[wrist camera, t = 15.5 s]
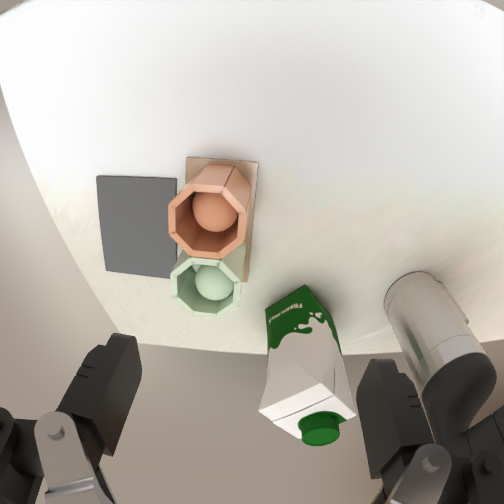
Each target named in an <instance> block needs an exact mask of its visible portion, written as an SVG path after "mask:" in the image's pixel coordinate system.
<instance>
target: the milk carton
mask: <svg viewBox="0 0 504 504" xmlns="http://www.w3.org/2000/svg"><path fill="white" fill-rule="evenodd" d="M265 313H266V324H267V336H268V353H267V356H268V357H267V384H266V387H265V390H264V393H263V397H262V400H261V403H260V406H259V410H258V411H259V412H260V413H262V414H263V415H265V416H266V417H268V418H269V419H271V420H272V422H273V423H274V424H275V425H277V426H279V427H281V428H283V429H284V430H286V431H287V432H289V433H290V434H292V435H294V436H295V437H297V438H299V439H300V438H302V441H303V442H304V443H305V444H307V445H310V446H323V445H327V444H330V443H332V442H334V441H336V440H337V439H338V438H339V435H340V432H339V424H340V423H342V422H344V421H347V419H349V418H352V417H354V416H356V412H355V408H354V404H353V400H352V396H351V393H350V389H349V385H348V381H347V376H346V371H345V367H344V362H343V358H342V353H341V349H340V344H339V340H338V336H337V332H336V328H335V325H334V322H333V319H332V316H331V315H330V314H329V313H328V312H327V310H326V309H325V308H324V307H323V306H322V304H321V303H320V302H319V301H318V300H317V298H316V297H315V296H314V295H313V294H312V293H311V291H310V290H309V289H308V288H307V287H306V285H304V286H303V287H301V288H299V289H298V290H296V291H295V292H293V293H291V294H290V295H288V296H287V297H285V298H283V299H282V300H280V301H279V302H277V303H275V304H274V305H272V306H271V307H269V308H267V309H266V310H265Z"/></svg>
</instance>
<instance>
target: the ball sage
mask: <svg viewBox="0 0 504 504" xmlns="http://www.w3.org/2000/svg"><path fill="white" fill-rule="evenodd" d="M195 283H196V287H197V289H198V291H199V293H200V294H201V295H202V296H203V297H205V298H207V299H209V300H222V299H224V298H226V297H228V296H229V295H230V294H231V293H232V291H233V289H234V282H233V281H232V280H231V279H230V278H229V277H228V276H227V275H226V274H225V273H224V272H223V271H222V270H221V269H220V268H219V267H218V266H211V265H202V266H201V267H200V268H199V269H198V271H197V273H196V277H195Z"/></svg>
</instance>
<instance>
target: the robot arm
mask: <svg viewBox="0 0 504 504" xmlns="http://www.w3.org/2000/svg"><path fill="white" fill-rule="evenodd" d="M384 308H385V312H386V314H387V316H388V318H389V321H390V323H391V325H392V327H393V330H394V332H395V335H396V337H397V339H398V341H399V344H400V346H401V349H402V351H403V353H404V356H405V358H406V360H407V363H408V365H409V368H410V370H411V373H412V375H413V378H414V380H415V383H416V385H417V388H418V391H419V393H420V396H421V398H422V401H423V404H424V407H425V410H426V412H427V417H428V420H429V423H430V426H431V429H432V432H433V435H434V439H435V442H434V440H433V437H432V434H431V431H430V428H429V425H428V422H427V419H426V416H425V413H424V411H423V408H422V407H421V402H420V399H419V398H418V394H417V391H416V389H415V386H414V383H413V382H412V381H411V380H410V379H409V378H408V377H407V375H406V374H405V373H399V372H398V369H397V367H396V364H395V361H394V360H393V359H371V360H370V362H369V364H368V366H367V369H366V371H365V373H364V375H363V377H362V379H361V382H360V384H359V386H358V389H357V395H356V401H357V407H358V412H359V417H360V422H361V427H362V431H363V437H364V442H365V447H366V453H367V458H368V464H369V470H370V476H371V479H379V478H382V480H383V485H382V486H381V488H380V489H379V491H378V493H377V494H376V496H375V498H374V499H373V501H372V502H371V504H504V405H503V406H502V407H500V408H499V409H498V410H496V411H495V412H493V415H492V414H490V415H489V416H488V417H486V418H485V419H483V420H482V421H480V422H479V423H477V424H476V425H474V426H473V427H471V428H470V429H468V428H469V426H470V424H471V422H472V420H473V418H474V416H475V415H476V413H477V412H478V411H479V409H480V408H481V407H482V405H483V404H484V403H485V402H486V400H487V399H488V398H489V396H490V394H491V393H492V391H493V389H494V387H495V384H496V378H497V376H496V370H495V368H494V366H493V364H492V363H491V361H490V359H489V358H488V356H487V355H486V353H485V351H484V350H483V348H482V347H481V345H480V343H479V342H478V340H477V339H476V337H475V336H474V334H473V333H472V331H471V330H470V328H469V327H468V322H469V321H468V318H467V317H466V315H465V314H464V312H463V311H462V310H461V308H460V307H459V305H458V304H457V303H456V301H455V300H454V298H453V297H452V296H451V294H450V293H449V292H448V290H447V289H446V288H445V286H444V285H443V284H442V283H439V282H437V281H436V280H435V279H434V277H432V276H431V275H430V274H427V273H425V272H414V273H410V274H407V275H405V276H403V277H402V278H400V279H399V280H398V281H396V282H395V283H394V284H393V285H392V286H391V288H390V289H389V291H388V293H387V295H386V297H385V302H384ZM76 374H77V375H76V376H75V377H74V379H73V380H72V382H71V384H70V386H69V388H68V389H67V391H66V393H65V395H64V397H63V399H62V401H61V403H60V405H59V406H58V408H57V409H56V411H55V412H49V413H46V414H44V415H43V416H41V417H40V418H39V420H25V419H14V418H13V417H12V415H11V414H10V413H9V412H8V411H7V410H6V409H4V408H1V407H0V504H35V501H36V498H37V495H38V492H39V489H40V486H41V483H42V480H43V477H45V479H46V482H47V486H48V491H47V492H45V501H46V504H117V502H116V500H115V497H114V495H113V493H112V491H111V489H110V487H109V484H108V482H107V480H106V477H105V475H104V473H103V470H102V468H101V465H100V460H101V457H102V454H105V455H108V456H112V457H113V455H114V452H115V449H116V446H117V444H118V441H119V438H120V435H121V432H122V429H123V427H124V424H125V421H126V419H127V416H128V413H129V410H130V408H131V405H132V402H133V400H134V397H135V394H136V392H137V389H138V387H139V384H140V381H141V376H142V365H141V361H140V356H139V351H138V345H137V340H136V338H135V337H134V336H130V335H124V334H118V333H113V334H112V335H111V337H110V339H109V340H108V342H107V344H106V346H104V345H97V346H96V347H95V348H94V349H92V350H91V351H90V352H89V353H88V354H87V356H86V357H85V359H84V361H83V363H82V366H81V367H80V368H79V370H78V371H77V373H76ZM435 443H436V444H435Z"/></svg>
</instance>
